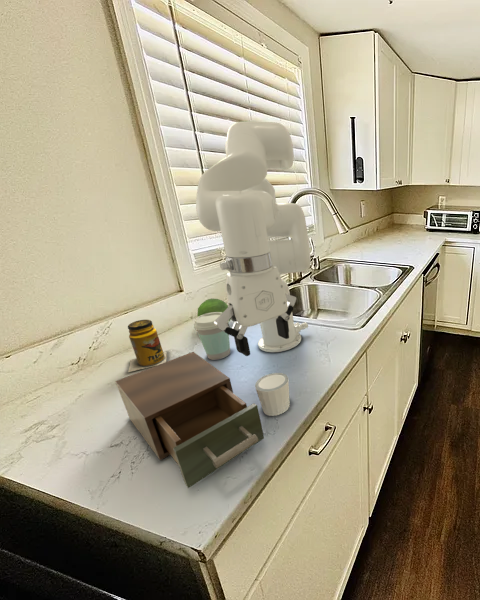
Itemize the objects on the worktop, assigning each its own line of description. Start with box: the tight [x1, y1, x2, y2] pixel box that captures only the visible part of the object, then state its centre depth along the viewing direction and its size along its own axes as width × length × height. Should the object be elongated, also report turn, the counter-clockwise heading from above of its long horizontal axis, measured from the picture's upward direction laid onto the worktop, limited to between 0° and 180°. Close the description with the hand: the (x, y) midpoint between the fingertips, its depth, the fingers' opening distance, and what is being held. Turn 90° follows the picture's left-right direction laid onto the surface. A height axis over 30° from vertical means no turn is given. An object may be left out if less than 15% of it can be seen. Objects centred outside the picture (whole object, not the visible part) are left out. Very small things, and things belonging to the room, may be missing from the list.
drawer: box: [152, 385, 265, 489], centre depth 60 cm, size 22×14×8 cm, turn 52°
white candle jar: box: [254, 372, 291, 417], centre depth 72 cm, size 7×7×7 cm
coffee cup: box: [193, 312, 231, 361], centre depth 93 cm, size 8×8×12 cm
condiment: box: [127, 319, 167, 373], centre depth 89 cm, size 7×8×12 cm
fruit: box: [197, 298, 232, 323], centre depth 112 cm, size 15×10×10 cm, turn 32°
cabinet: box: [114, 351, 234, 461], centre depth 68 cm, size 18×15×10 cm
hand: (265, 344), depth 67 cm, fingers open, 8 cm apart
